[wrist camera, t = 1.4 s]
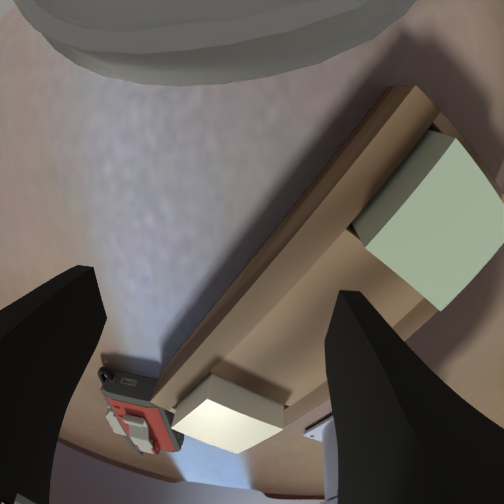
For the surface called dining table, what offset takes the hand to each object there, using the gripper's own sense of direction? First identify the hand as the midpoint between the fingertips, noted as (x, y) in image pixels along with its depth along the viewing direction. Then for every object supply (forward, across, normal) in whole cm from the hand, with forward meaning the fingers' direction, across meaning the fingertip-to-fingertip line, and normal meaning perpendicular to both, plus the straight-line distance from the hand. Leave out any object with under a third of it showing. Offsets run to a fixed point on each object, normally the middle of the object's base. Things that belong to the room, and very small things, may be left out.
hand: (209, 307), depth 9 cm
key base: (+9, -5, +7) cm, 13 cm away
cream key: (+7, 0, +15) cm, 17 cm away
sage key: (+7, -10, -1) cm, 12 cm away
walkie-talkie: (+10, +10, +26) cm, 30 cm away
